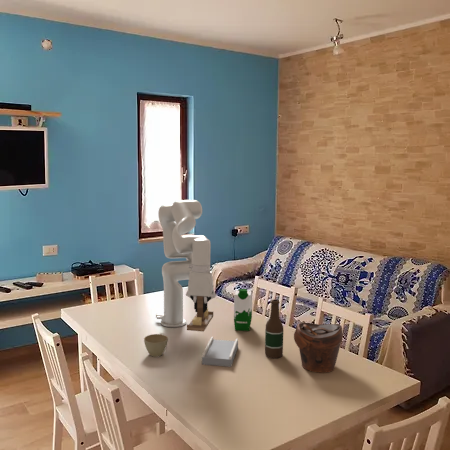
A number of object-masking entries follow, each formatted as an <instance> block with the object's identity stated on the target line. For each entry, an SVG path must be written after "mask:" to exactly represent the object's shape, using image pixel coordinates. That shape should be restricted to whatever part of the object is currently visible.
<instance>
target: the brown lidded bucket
mask: <svg viewBox="0 0 450 450" xmlns="http://www.w3.org/2000/svg"><path fill="white" fill-rule="evenodd" d="M343 336H344V334H343V326H342V325H341V324H340V323H327V324H324V323H323V324H322V323H321V324H318V323H311V322H300V323H298V324H297V325H296V328H295V331H294V333H293V340H294V342H295V344H296V346H297V347H298V350H299V356H300V362H301V366H302V367H303V368H304V369H305V370H307V371H310V372H314V373H323V374H324V373H330V372H332V371H334V370H335V368H336V363H337V359H338V356H339V352H340V349H341V344H342V342H343Z"/></svg>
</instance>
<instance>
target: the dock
mask: <svg viewBox="0 0 450 450" xmlns="http://www.w3.org/2000/svg"><path fill="white" fill-rule="evenodd" d="M238 349H239V339H238V338H235V340H228V339H226V340H225V339H215V338H214V336H211V337H210V339H208V342H207V344H206V347H205V348H204V350H203V352H202V353H201V365H205V366H218V367H219V366H220V367H229V368H230V367H232V366H233V363H234V360H235V357H236V354H237V352H238Z"/></svg>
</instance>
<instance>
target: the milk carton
mask: <svg viewBox="0 0 450 450" xmlns="http://www.w3.org/2000/svg"><path fill="white" fill-rule="evenodd" d="M252 320H253V295H252V291H251V290H248V289H246V288H240V289H238V290H235V293H234V301H233V323H234V324H233V325H234V331H238V332H239V331H240V332H241V331H243V332H250V329H251V324H252Z"/></svg>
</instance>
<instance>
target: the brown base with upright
mask: <svg viewBox="0 0 450 450" xmlns="http://www.w3.org/2000/svg"><path fill="white" fill-rule="evenodd" d="M203 303H204V297H202V296H197V312H196V314H195V316H194V317H202V320H201V325H193V319H191V321H190V323H189V324H187V323H186V331H193V332H202V333H204V332H205V330H206V329H207V327H208V326H209V323H210V322H211V321H212V320H213V318H214V311H210V310H208V316H207V317H204V313H203Z"/></svg>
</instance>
